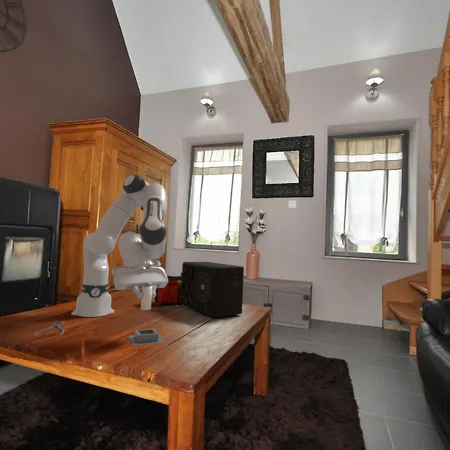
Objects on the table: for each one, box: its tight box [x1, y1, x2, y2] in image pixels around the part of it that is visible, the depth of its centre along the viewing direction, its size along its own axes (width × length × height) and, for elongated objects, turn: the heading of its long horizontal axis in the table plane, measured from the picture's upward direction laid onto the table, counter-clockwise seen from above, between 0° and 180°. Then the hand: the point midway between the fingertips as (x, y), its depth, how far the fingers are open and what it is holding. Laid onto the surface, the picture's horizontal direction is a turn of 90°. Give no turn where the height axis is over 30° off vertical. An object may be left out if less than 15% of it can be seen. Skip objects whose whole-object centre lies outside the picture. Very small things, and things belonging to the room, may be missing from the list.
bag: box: [154, 274, 183, 307], centre depth 181 cm, size 30×14×16 cm, turn 129°
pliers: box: [33, 320, 65, 337], centre depth 119 cm, size 10×1×20 cm
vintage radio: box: [179, 261, 245, 319], centre depth 165 cm, size 38×20×25 cm, turn 36°
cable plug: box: [140, 283, 153, 311], centre depth 109 cm, size 4×4×9 cm
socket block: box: [128, 328, 166, 346], centre depth 109 cm, size 11×11×4 cm
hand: (147, 296), depth 109 cm, fingers closed on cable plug, 3 cm apart
